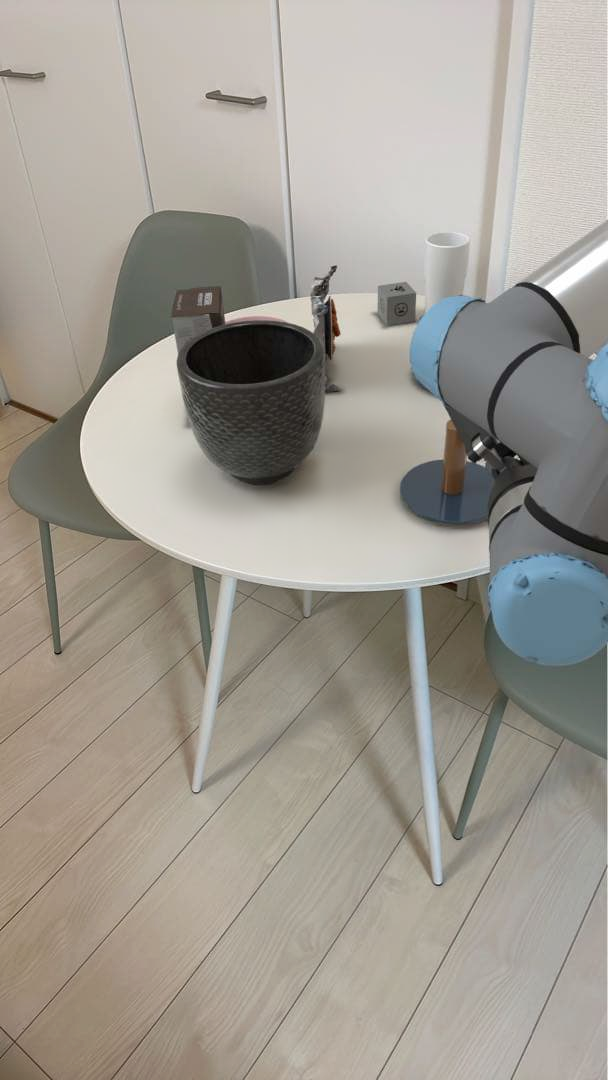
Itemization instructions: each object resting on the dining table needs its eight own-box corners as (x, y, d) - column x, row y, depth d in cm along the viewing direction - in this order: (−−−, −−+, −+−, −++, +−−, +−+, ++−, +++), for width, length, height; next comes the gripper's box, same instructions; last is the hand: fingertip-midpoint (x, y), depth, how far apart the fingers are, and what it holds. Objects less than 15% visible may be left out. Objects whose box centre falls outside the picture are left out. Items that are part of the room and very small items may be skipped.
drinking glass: (441, 345, 120) (448, 250, 110) (411, 332, 124) (415, 239, 114) (470, 331, 123) (480, 238, 113) (440, 319, 127) (446, 228, 117)
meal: (343, 391, 110) (341, 306, 102) (314, 392, 111) (310, 307, 102) (339, 345, 122) (337, 264, 113) (312, 346, 122) (309, 266, 113)
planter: (186, 443, 102) (165, 333, 92) (307, 418, 105) (301, 309, 95) (209, 518, 90) (188, 400, 79) (346, 488, 93) (344, 371, 82)
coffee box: (234, 421, 106) (220, 312, 95) (189, 425, 106) (170, 317, 95) (234, 389, 113) (221, 284, 102) (191, 392, 113) (174, 288, 102)
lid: (486, 461, 95) (495, 390, 89) (519, 522, 86) (532, 448, 79) (390, 472, 95) (391, 401, 88) (412, 535, 85) (416, 461, 79)
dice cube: (415, 321, 127) (416, 292, 124) (386, 326, 126) (387, 297, 123) (405, 309, 131) (406, 281, 127) (377, 314, 130) (377, 285, 127)
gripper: (390, 447, 59) (411, 383, 78) (604, 651, 63) (575, 543, 81) (461, 379, 56) (465, 329, 74) (682, 599, 59) (633, 499, 78)
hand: (522, 441), depth 78 cm, fingers open, 13 cm apart
